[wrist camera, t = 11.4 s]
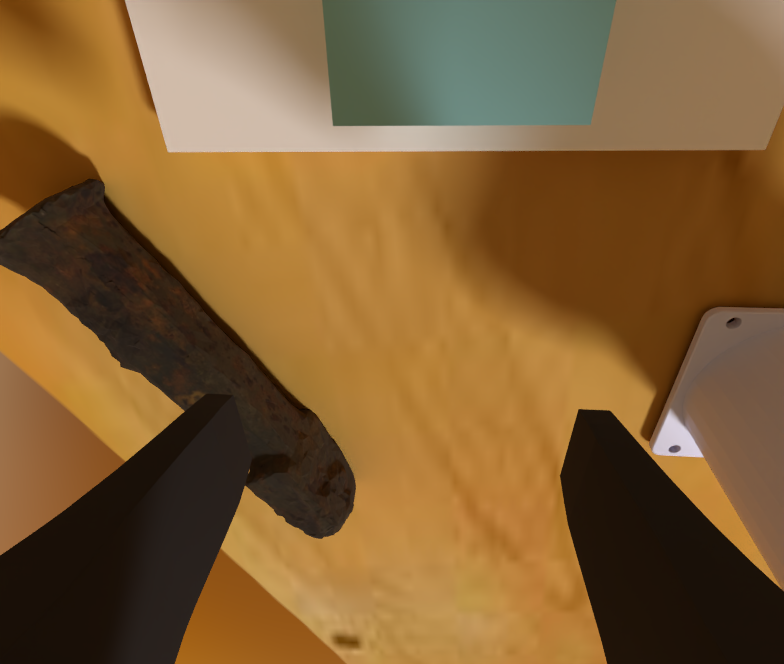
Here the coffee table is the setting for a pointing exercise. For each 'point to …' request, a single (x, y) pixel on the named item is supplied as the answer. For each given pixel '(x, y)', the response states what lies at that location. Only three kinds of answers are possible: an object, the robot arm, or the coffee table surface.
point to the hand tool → (178, 348)
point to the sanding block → (465, 61)
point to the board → (317, 134)
